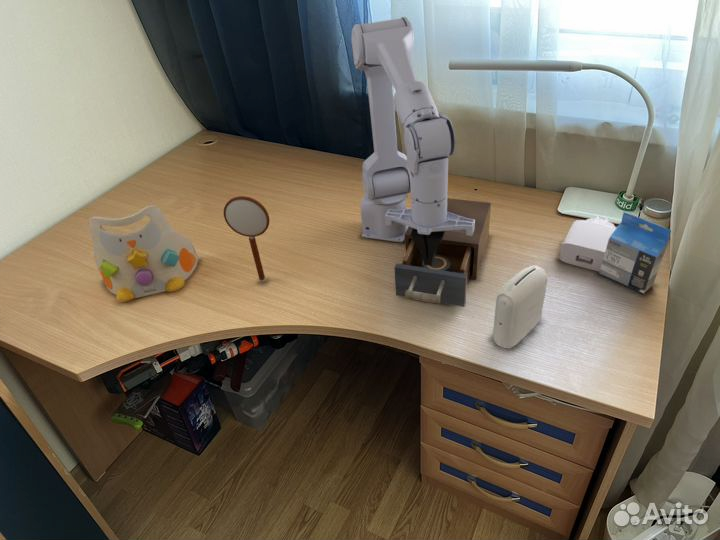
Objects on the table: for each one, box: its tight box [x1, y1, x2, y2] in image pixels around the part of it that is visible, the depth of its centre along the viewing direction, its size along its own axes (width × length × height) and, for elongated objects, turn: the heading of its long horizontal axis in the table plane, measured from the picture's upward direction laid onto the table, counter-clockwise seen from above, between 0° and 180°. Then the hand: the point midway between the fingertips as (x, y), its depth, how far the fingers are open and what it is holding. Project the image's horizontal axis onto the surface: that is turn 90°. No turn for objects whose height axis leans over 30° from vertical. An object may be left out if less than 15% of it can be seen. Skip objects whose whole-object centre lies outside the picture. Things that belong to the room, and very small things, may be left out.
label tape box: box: [598, 211, 672, 294], centre depth 97 cm, size 9×4×12 cm, turn 41°
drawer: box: [393, 240, 474, 308], centre depth 100 cm, size 19×13×7 cm
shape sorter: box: [88, 204, 199, 303], centre depth 106 cm, size 20×10×18 cm, turn 105°
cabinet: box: [404, 197, 492, 281], centre depth 109 cm, size 15×14×9 cm
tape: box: [422, 255, 450, 272], centre depth 101 cm, size 5×5×4 cm
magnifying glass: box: [223, 195, 270, 283], centre depth 103 cm, size 9×2×20 cm, turn 80°
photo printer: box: [492, 264, 549, 349], centre depth 89 cm, size 10×4×12 cm, turn 133°
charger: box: [559, 215, 617, 273], centre depth 108 cm, size 5×9×15 cm
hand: (429, 261), depth 93 cm, fingers closed
